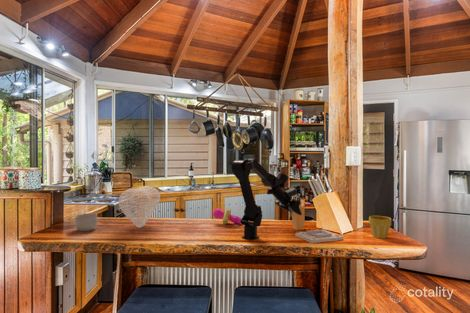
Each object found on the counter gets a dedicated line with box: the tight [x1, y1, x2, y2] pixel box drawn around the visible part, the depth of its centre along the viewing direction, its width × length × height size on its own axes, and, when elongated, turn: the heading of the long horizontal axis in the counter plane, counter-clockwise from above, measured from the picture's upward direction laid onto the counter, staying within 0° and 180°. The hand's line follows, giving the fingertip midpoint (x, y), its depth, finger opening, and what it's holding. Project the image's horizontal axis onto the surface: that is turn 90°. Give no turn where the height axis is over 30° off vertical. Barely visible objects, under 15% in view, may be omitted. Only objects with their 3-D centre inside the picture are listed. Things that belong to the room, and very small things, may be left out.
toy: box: [212, 207, 242, 226], centre depth 183 cm, size 10×18×10 cm, turn 82°
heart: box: [118, 185, 161, 229], centre depth 172 cm, size 28×16×22 cm, turn 168°
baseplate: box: [294, 229, 344, 244], centre depth 155 cm, size 18×14×3 cm
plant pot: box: [368, 215, 392, 239], centre depth 158 cm, size 10×10×10 cm
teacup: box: [74, 212, 98, 232], centre depth 167 cm, size 14×11×8 cm
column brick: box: [291, 204, 306, 231], centre depth 173 cm, size 5×5×13 cm
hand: (296, 213), depth 173 cm, fingers open, 9 cm apart
